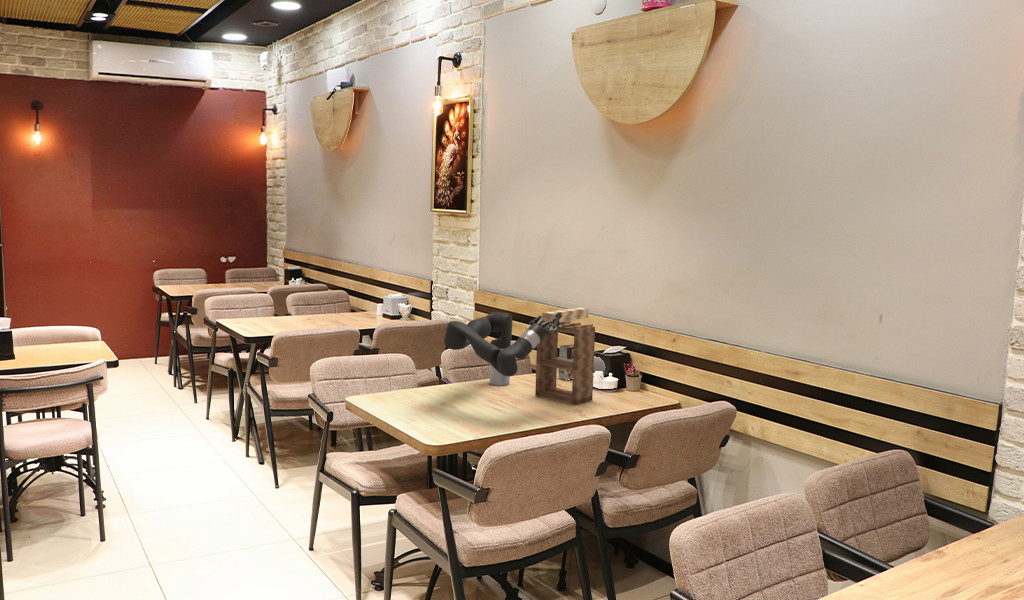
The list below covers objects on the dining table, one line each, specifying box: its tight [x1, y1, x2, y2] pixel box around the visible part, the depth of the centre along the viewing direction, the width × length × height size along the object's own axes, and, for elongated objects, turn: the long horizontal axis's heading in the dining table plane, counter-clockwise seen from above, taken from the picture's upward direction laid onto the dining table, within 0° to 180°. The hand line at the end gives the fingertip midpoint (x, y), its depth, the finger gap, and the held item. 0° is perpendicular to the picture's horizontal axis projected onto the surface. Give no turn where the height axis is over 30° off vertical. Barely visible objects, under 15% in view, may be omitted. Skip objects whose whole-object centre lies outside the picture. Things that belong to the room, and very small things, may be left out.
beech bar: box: [541, 307, 589, 324], centre depth 329 cm, size 26×4×4 cm, turn 138°
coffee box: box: [557, 343, 574, 381], centre depth 380 cm, size 9×6×16 cm
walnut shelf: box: [534, 320, 596, 406], centre depth 342 cm, size 12×22×33 cm, turn 48°
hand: (555, 313), depth 324 cm, fingers closed on beech bar, 4 cm apart
